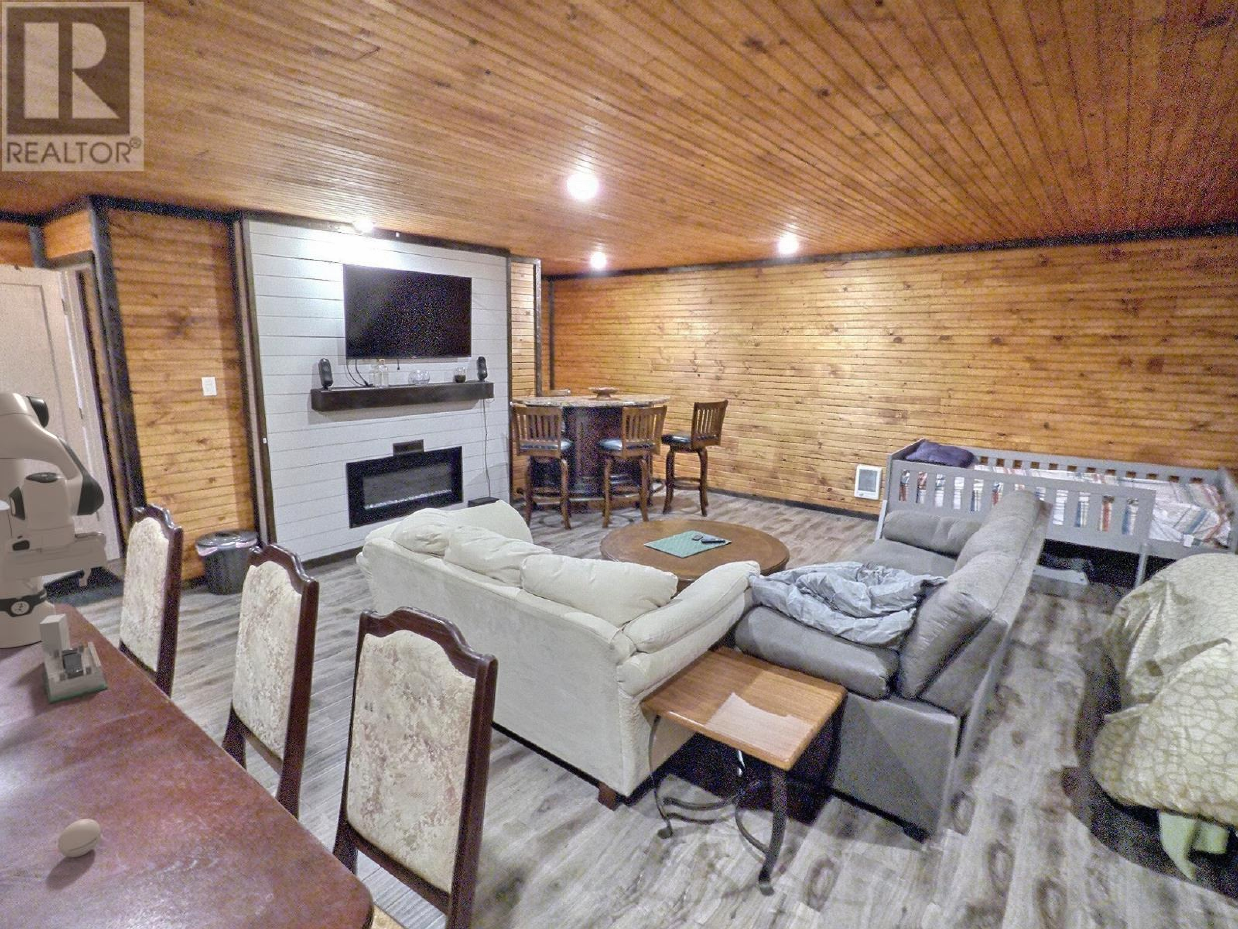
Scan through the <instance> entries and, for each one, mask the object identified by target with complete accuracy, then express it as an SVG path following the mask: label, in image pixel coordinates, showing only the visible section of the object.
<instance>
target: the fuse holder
mask: <svg viewBox="0 0 1238 929" xmlns="http://www.w3.org/2000/svg"><path fill="white" fill-rule="evenodd" d="M77 646H78V647H77V648H78V651H77V652H72V653H68V654H64V655H62V654H59V650H58V649H56V650H53V652H54V655H53V656H49V653H48V651H47V652H43V651H42V656H43V662H44V669H45V670H43V671H42V675H43V679H44V684H45V685H44V686H45V691H46V695H47V701H48V704H49V705H53V704H57V703H60V702H65V701H68V700H71V699H75V698H79V697H82V696H86V695H90V694H93V693H97V692H100V691H104V690H108V686H107V682H106V680H105V678H104V674H103V667H102V666H103V665H102V662H101V661H100V658H99V654H98V653H97V652H98V651H97V650H96V647H95V644H94V642H93V640H92V641H91V640H90V641H87V647H84V643H78V644H77ZM75 653H80V658H81V662H82V667H83V671H84V674H82V675H78V676H74V677H70V678H68V676H67V671H66V666H65V661H64V656H67V655H71V654H75Z"/></svg>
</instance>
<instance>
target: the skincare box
mask: <svg viewBox="0 0 1238 929" xmlns="http://www.w3.org/2000/svg"><path fill="white" fill-rule="evenodd" d="M39 627H40V633H41V647H42V653H43V652H47V651H48V653H49V656H53V655H54V652H53V650H56V649H58V650H59V654H62V653H61V652H62V651H63V650H68V649H72V647H71V641H70V640H71V638H70V633H69V632H70V631H69V626H68V617H67V614H66V613H61V614H56V615H51V616H47V617H46V618H45V619H44V620H43V621H42V622H41V623H40V624H39Z"/></svg>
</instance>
